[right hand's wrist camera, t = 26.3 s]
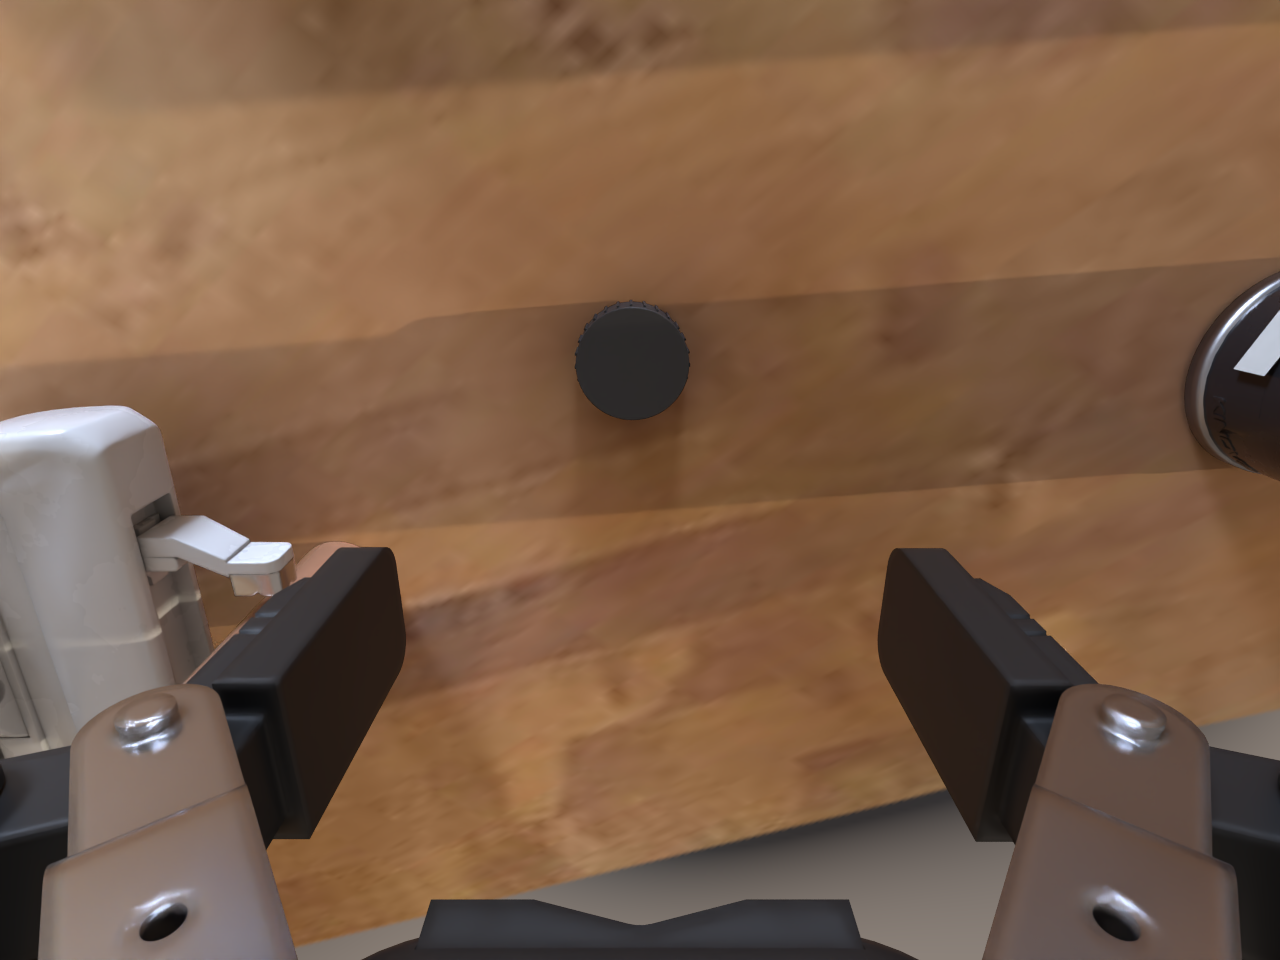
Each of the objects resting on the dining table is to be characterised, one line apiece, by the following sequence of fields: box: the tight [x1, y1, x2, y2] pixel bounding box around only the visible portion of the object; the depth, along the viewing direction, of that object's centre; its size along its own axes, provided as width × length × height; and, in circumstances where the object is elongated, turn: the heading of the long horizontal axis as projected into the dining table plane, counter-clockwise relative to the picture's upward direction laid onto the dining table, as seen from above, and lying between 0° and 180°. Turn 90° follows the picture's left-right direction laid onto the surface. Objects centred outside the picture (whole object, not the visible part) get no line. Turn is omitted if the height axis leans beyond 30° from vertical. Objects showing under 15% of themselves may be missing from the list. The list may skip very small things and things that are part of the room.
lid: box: [575, 300, 690, 420], centre depth 29 cm, size 5×5×2 cm
